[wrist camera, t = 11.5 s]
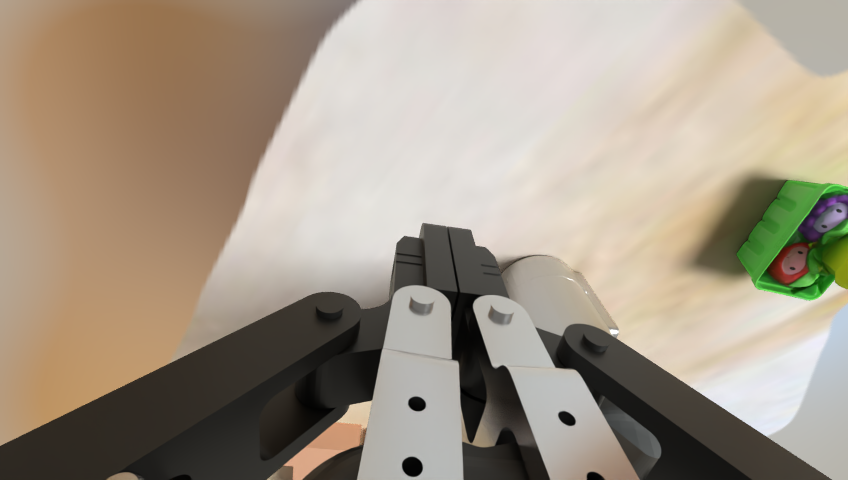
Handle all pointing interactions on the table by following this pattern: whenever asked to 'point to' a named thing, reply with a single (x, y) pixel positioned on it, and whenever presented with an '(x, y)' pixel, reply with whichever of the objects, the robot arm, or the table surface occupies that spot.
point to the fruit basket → (800, 241)
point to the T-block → (325, 448)
